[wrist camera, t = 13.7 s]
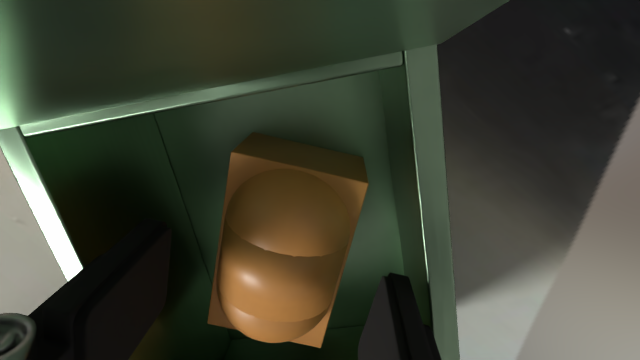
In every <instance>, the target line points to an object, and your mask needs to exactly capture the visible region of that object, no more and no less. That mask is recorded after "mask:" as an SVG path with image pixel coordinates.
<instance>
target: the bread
mask: <svg viewBox="0 0 640 360" xmlns="http://www.w3.org/2000/svg"><path fill="white" fill-rule="evenodd" d="M368 185H369V182H368V177H367V173H366V168H365V163H364V159H363V157H359V156H355V155H351V154H346V153H342V152H338V151H333V150H329V149H325V148H320V147H316V146H312V145H307V144H303V143H299V142H294V141H290V140H286V139H281V138H277V137H273V136H268V135H264V134H260V133H255V132H252V133H251V134H250V135H249V136H248V137H247V138H246V139H244V140H243V141H242V142H241V143H240V144H239V145H238V146H237V147H236V148H235V149H234V150H232V151H231V155H230V162H229V169H228V177H227V184H226V191H225V198H224V205H223V213H222V220H221V227H220V234H219V242H218V249H217V256H216V263H215V271H214V278H213V285H212V292H211V299H210V307H209V314H208V321H207V323H208V324H212V325H216V326H221V327H225V328H230V329H235V330H239V331H240V332H242V333H243V334H245V335H246V336H248V337H250V338H252V339H254V340H258V341H261V342H267V343H281V342H286V341H290V342H295V343H299V344H304V345H308V346H313V347H318V348H321V347H322V343H323V340H324V336H325V333H326V329H327V326H328V322H329V319H330V316H331V312H332V309H333V305H334V302H335V298H336V295H337V292H338V288H339V285H340V281H341V278H342V274H343V271H344V268H345V264H346V261H347V257H348V254H349V250H350V247H351V243H352V240H353V237H354V233H355V230H356V226H357V223H358V219H359V216H360V213H361V209H362V206H363V202H364V199H365V195H366V192H367V188H368Z"/></svg>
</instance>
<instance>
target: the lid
mask: <svg viewBox="0 0 640 360" xmlns="http://www.w3.org/2000/svg"><path fill="white" fill-rule="evenodd" d="M508 1H509V0H0V130H1V129H6V128H11V127H16V126H21V125H26V124H31V123H36V122H42V121H47V120H52V119H57V118H62V117H67V116H72V115H77V114H82V113H88V112H93V111H98V110H103V109H108V108H113V107H118V106H123V105H129V104H134V103H139V102H144V101H149V100H154V99H159V98H164V97H170V96H175V95H180V94H185V93H190V92H195V91H200V90H205V89H211V88H216V87H221V86H226V85H231V84H236V83H241V82H246V81H252V80H257V79H262V78H267V77H272V76H277V75H282V74H287V73H293V72H298V71H303V70H308V69H313V68H318V67H323V66H328V65H333V64H339V63H344V62H349V61H354V60H359V59H364V58H369V57H374V56H380V55H385V54H390V53H395V52H400V51H405V50H410V49H415V48H421V47H426V46H431V45H436V44H441V43H443V42H444V41H446V40H447V39H449V38H451V37H452V36H454V35H455V34H457V33H459V32H460V31H462V30H463V29H465V28H467V27H468V26H470V25H471V24H473V23H474V22H476V21H478V20H479V19H481V18H482V17H484V16H486V15H487V14H489V13H490V12H492V11H494V10H495V9H497V8H498V7H500V6H501V5H503V4H505V3H506V2H508Z"/></svg>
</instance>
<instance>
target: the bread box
mask: <svg viewBox="0 0 640 360" xmlns="http://www.w3.org/2000/svg"><path fill="white" fill-rule="evenodd" d="M252 132H255V133H260V134H264V135H268V136H273V137H277V138H281V139H286V140H290V141H294V142H299V143H303V144H307V145H312V146H316V147H320V148H325V149H329V150H333V151H338V152H342V153H346V154H351V155H355V156H359V157H363V159H364V163H365V168H366V173H367V177H368V182H369V185H368V188H367V192H366V195H365V199H364V202H363V206H362V209H361V213H360V216H359V219H358V223H357V226H356V230H355V233H354V237H353V240H352V243H351V247H350V250H349V254H348V257H347V261H346V264H345V268H344V271H343V274H342V278H341V281H340V285H339V288H338V292H337V295H336V298H335V302H334V305H333V309H332V312H331V316H330V319H329V322H328V326H327V329H326V333H325V336H324V340H323V343H322V347H321V348H318V347H313V346H308V345H304V344H299V343H295V342H290V341H286V342H281V343H267V342H261V341H258V340H254V339H252V338H250V337H248V336H246V335H245V334H243V333H242V332H240V331H239V330H235V329H230V328H225V327H221V326H216V325H212V324H208V323H207V321H208V314H209V307H210V299H211V292H212V285H213V278H214V271H215V263H216V256H217V249H218V242H219V234H220V227H221V220H222V213H223V205H224V198H225V191H226V184H227V177H228V169H229V162H230V155H231V151H232V150H234V149H235V148H236V147H237V146H238V145H239V144H240V143H241V142H242V141H243V140H244V139H246V138H247V137H248V136H249V135H250V134H251V133H252ZM0 148H1V150H2V152H3V154H4V156H5V158H6V160H7V162H8V164H9V166H10V168H11V170H12V172H13V174H14V176H15V178H16V180H17V182H18V184H19V186H20V188H21V190H22V192H23V194H24V196H25V198H26V200H27V202H28V204H29V206H30V208H31V210H32V212H33V214H34V216H35V218H36V220H37V222H38V224H39V226H40V228H41V230H42V232H43V234H44V236H45V238H46V240H47V242H48V244H49V246H50V248H51V250H52V252H53V254H54V256H55V258H56V260H57V262H58V264H59V266H60V268H61V270H62V272H63V274H64V276H65V278H66V280H67V282H68V281H69V280H70V279H72V278H73V277H74V276H75V275H76V274H77V273H79V272H80V271H81V270H82V269H83V268H84V267H86V266H87V265H88V264H89V263H90V262H92V261H93V260H94V259H95V258H96V257H98V256H99V255H102V254H105V253H106V252H107V251H108V250H109V249H111V248H112V247H113V246H114V245H115V244H116V243H117V242H119V241H120V240H121V239H122V238H123V237H124V236H125V235H127V234H128V233H129V232H130V231H131V230H132V229H133V228H135V227H136V226H137V225H138V224H139V223H140V222H142V221H143V220H144V219H145V218H150V219H154V220H159V221H163V222H166V224H167V227H168V228H171V230H172V237H171V249H170V261H169V273H168V285H167V297H166V302H165V305H164V307H163V309H162V311H161V312H160V314H159V315H158V317H157V318H156V320H155V321H154V323H153V324H152V326H151V327H150V329H149V330H148V331H147V333H146V334H145V336H144V337H143V339H142V340H141V342H140V343H139V345H138V346H137V348H136V349H135V351H134V352H133V354H132V355H131V356H130V358H129V359H128V360H358V346H359V341H360V338H361V335H362V332H363V329H364V326H365V323H366V320H367V317H368V314H369V312H370V309H371V306H372V303H373V300H374V297H375V294H376V291H377V288H378V286H379V283H380V280H381V277H382V276H388V274H389V273H390V272H391V273H395V274H400V275H404V276H408V277H409V279H410V282H411V286H412V289H413V292H414V296H415V299H416V302H417V306H418V309H419V312H420V315H421V319H422V322H423V324H425V325H428V326H429V327H430V328H431V330H432V332H433V335H434V338H435V341H436V344H437V347H438V350H439V353H440V356H441V359H442V360H460V354H459V340H458V326H457V312H456V299H455V285H454V271H453V257H452V243H451V230H450V216H449V202H448V188H447V175H446V161H445V147H444V133H443V119H442V106H441V92H440V78H439V64H438V50H437V44H436V45H431V46H426V47H421V48H415V49H410V50H405V51H400V52H395V53H390V54H385V55H380V56H374V57H369V58H364V59H359V60H354V61H349V62H344V63H339V64H333V65H328V66H323V67H318V68H313V69H308V70H303V71H298V72H293V73H287V74H282V75H277V76H272V77H267V78H262V79H257V80H252V81H246V82H241V83H236V84H231V85H226V86H221V87H216V88H211V89H205V90H200V91H195V92H190V93H185V94H180V95H175V96H170V97H164V98H159V99H154V100H149V101H144V102H139V103H134V104H129V105H123V106H118V107H113V108H108V109H103V110H98V111H93V112H88V113H82V114H77V115H72V116H67V117H62V118H57V119H52V120H47V121H42V122H36V123H31V124H26V125H21V126H16V127H11V128H6V129H1V130H0Z"/></svg>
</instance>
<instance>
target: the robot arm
mask: <svg viewBox="0 0 640 360" xmlns="http://www.w3.org/2000/svg"><path fill="white" fill-rule="evenodd" d="M171 237H172V230H171V228H168V227H167V224H166V222H163V221H159V220H154V219H150V218H145V219H144V220H143V221H142V222H140V223H139V224H138V225H137V226H136V227H135V228H133V229H132V230H131V231H130V232H129V233H128V234H127V235H125V236H124V237H123V238H122V239H121V240H120V241H119V242H117V243H116V244H115V245H114V246H113V247H112V248H111V249H109V250H108V251H107V252H106V253H105V254H102V255H99V256H98V257H96V258H95V259H94V260H93V261H92V262H90V263H89V264H88V265H87V266H86V267H84V268H83V269H82V270H81V271H80V272H79V273H77V274H76V275H75V276H74V277H73V278H72V279H70V280H69V281H68V282H67V283H66V284H65V285H63V286H62V287H61V288H60V289H59V290H58V291H56V292H55V293H54V294H53V295H52V296H51V297H49V298H48V299H47V300H46V301H45V302H44V303H42V304H41V305H40V306H39V307H38V308H37V309H35V310H34V311H33V312H32V313H31V314H30V315H28V316H26V315H22V314H18V313H3V314H0V360H128V359H129V358H130V356H131V355H132V354H133V352H134V351H135V349H136V348H137V346H138V345H139V343H140V342H141V340H142V339H143V337H144V336H145V334H146V333H147V331H148V330H149V329H150V327H151V326H152V324H153V323H154V321H155V320H156V318H157V317H158V315H159V314H160V312H161V311H162V309H163V307H164V305H165V302H166V297H167V285H168V273H169V261H170V249H171ZM358 360H442V359H441V356H440V353H439V350H438V347H437V344H436V341H435V338H434V335H433V332H432V330H431V328H430V327H429V326H428V325H425V324H423V322H422V319H421V315H420V312H419V309H418V306H417V302H416V299H415V296H414V292H413V289H412V286H411V282H410V279H409V277H408V276H404V275H400V274H395V273H391V272H390V273H389V274H388V276H382V277H381V280H380V283H379V286H378V288H377V291H376V294H375V297H374V300H373V303H372V306H371V309H370V312H369V314H368V317H367V320H366V323H365V326H364V329H363V332H362V335H361V338H360V341H359V346H358Z"/></svg>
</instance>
